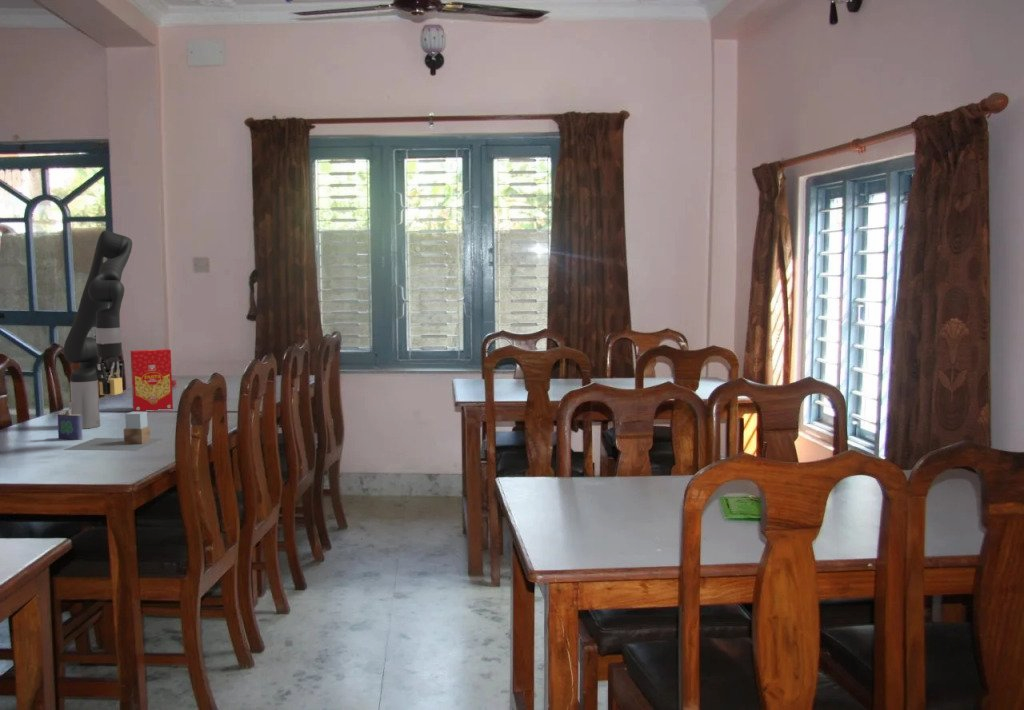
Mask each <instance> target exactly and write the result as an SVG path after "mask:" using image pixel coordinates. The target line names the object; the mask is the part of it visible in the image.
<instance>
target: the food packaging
mask: <svg viewBox="0 0 1024 710" xmlns="http://www.w3.org/2000/svg"><path fill="white" fill-rule="evenodd" d="M130 367H131V369H130V370H131V390H132V391H131V394H132V396H131V397H132V411H133V410H134V411H146V410H158V409H173V410H174V403H173V402H174V401H173V398H174V397H173V370H172V350H171V349H169V348H163V349H142V350H141V349H140V350H139V349H138V350H130ZM134 411H133V412H134Z"/></svg>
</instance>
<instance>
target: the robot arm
mask: <svg viewBox="0 0 1024 710" xmlns="http://www.w3.org/2000/svg"><path fill="white" fill-rule="evenodd" d="M132 250H133V241H132V239H131V238H130V237H128V236H125V235H122V234H119V233H115V232H111V231H109V230H102V231H101V232H100V235H99V237H98V239H97V242H96V246H95V251H94V255H93V258H92V263H91V266H90V271H89V273H88V277H87V279H86V282H85V285H84V288H83V291H82V295H81V297H80V302H79V305H78V308H77V312H76V314H75V318H74V319H73V323H72V325H71V328H70V330H69V332H68V334H67V337H66V339H65V342H64V344H63V350H62V353H63V357H64V359H65V361H66V362H68V363H71V364H79V363H80V366H79V367H78V368H77V369H76V370H75V371H73V372H71V373H70V375H69V380H70V381H69V383H70V400H71V401H69V402H68V409H69V410H70V409H71V410H72V411H71V414H81V416H82V430H84V429H92V428H97V427H98V428H99V427H100V426H101V413H100V398H99V397H100V389H99V382H101V383H103V394H110V393H111V392H110V378H122V379H123V378H124V368H125V361H124V359H120V358H119V357H121V356H122V355H123V348H122V347H123V346H122V345H123V344H122V333H121V332H122V331H121V321H120V318H121V317H120V313H121V308H122V307H121V306H122V302H123V299H124V294H125V286H124V284H123V283H122V282H121V280H122V275H123V272H124V269H125V267H126V265H127V264H128V261H129V258H130V255H131V253H132ZM104 258H106V259H108V260H106V261H104ZM110 303H112V304H111V306H109V305H110ZM95 325H96V331H95V337H92V336H88V335H89V333H90V330H91V329H92V328H93V327H94V326H95ZM91 331H92V330H91Z"/></svg>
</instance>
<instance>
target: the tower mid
mask: <svg viewBox="0 0 1024 710" xmlns="http://www.w3.org/2000/svg"><path fill="white" fill-rule="evenodd" d="M124 415H125V416H124V417H125V428H126V429H142V428H145V427H147V426H149V424H148V412H134V411H130V412H127V413H125V414H124Z"/></svg>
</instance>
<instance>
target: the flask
mask: <svg viewBox="0 0 1024 710" xmlns="http://www.w3.org/2000/svg"><path fill="white" fill-rule="evenodd" d="M71 411H72V410H71V409H70V410H69V408H67V409H66V408H65V411H64V412H60V413H58V414H57V428H58V429H57V434H58V435H57V436H58V440H64V441H81V440H83V429H82V416H81V414H71Z"/></svg>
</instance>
